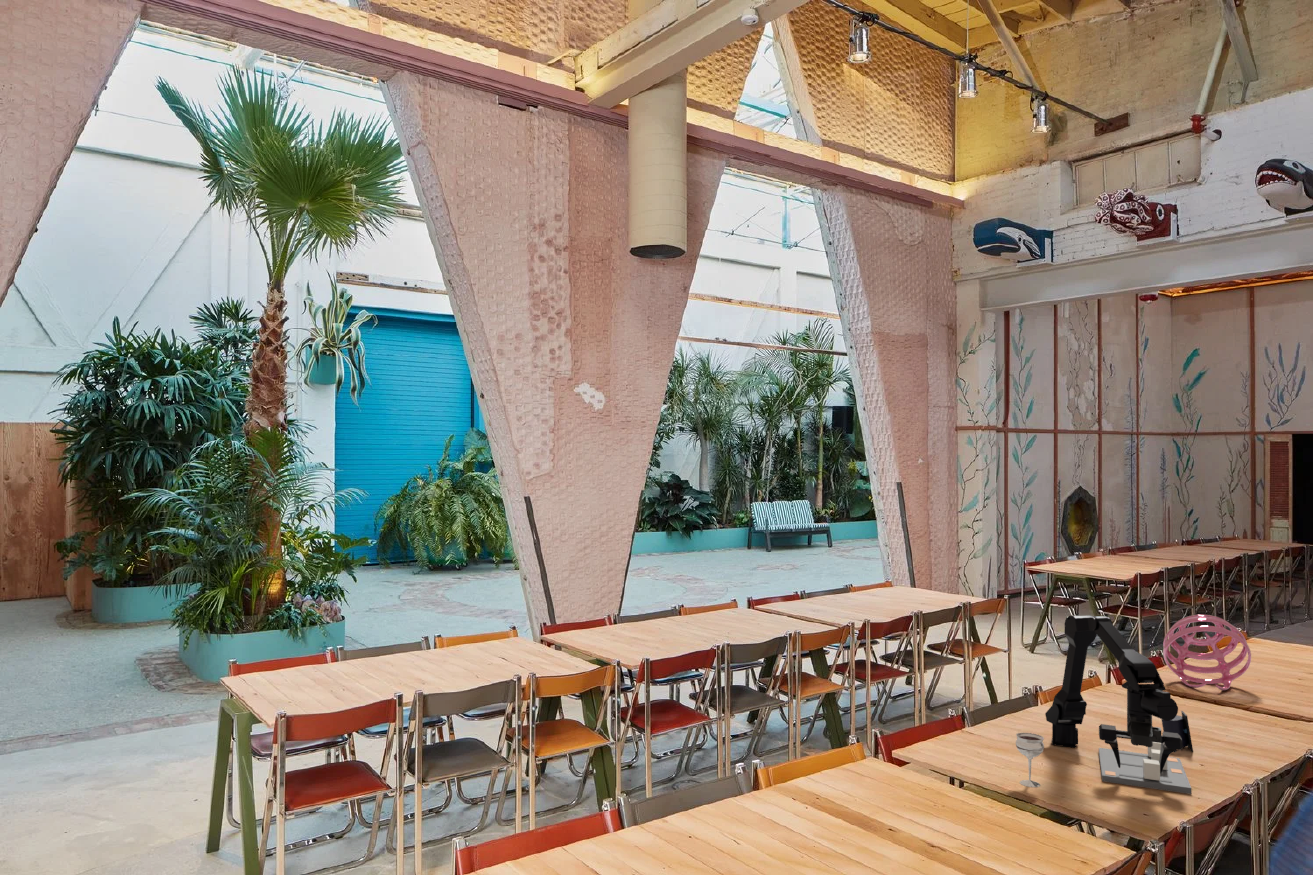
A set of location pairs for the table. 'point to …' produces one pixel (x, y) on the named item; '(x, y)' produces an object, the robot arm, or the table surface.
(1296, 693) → the table surface
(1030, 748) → the wineglass
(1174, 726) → the speaker
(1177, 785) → the switch board
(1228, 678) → the spiral basket
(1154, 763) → the switch near
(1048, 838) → the table surface
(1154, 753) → the switch mid
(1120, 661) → the robot arm
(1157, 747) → the switch far
